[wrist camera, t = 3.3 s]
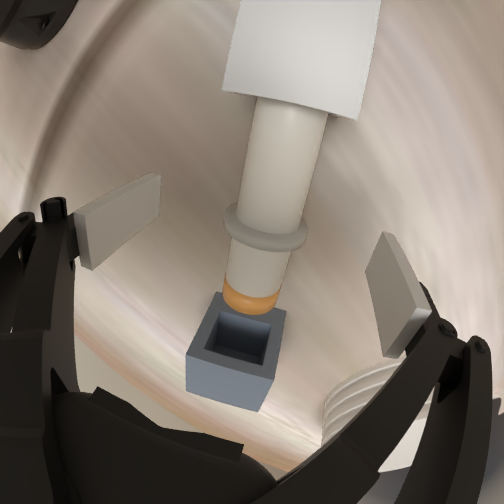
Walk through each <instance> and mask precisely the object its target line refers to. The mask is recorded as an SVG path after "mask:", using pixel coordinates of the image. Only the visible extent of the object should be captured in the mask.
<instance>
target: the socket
mask: <svg viewBox="0 0 504 504" xmlns="http://www.w3.org/2000/svg"><path fill="white" fill-rule="evenodd" d="M285 316H286V311H284V310H280V309H276V308H273V309H272V310H271V311H269V312H267V313H264V314H260V315H248V314H244V313H241V312H238V311H236V310H234V309H233V308H231V307H230V306H229V305H228V304H227V303H226V302H225V300H224V298H223V294H222V293H219V292H216V294H215V296H214V298H213V300H212V302H211V304H210V306H209V308H208V310H207V312H206V314H205V316H204V318H203V320H202V322H201V324H200V326H199V328H198V331H197V333H196V335H195V337H194V339H193V341H192V343H191V345H190V347H189V349H188V351H187V353H186V391H188V392H190V393H193V394H196V395H199V396H202V397H205V398H209V399H212V400H215V401H218V402H222V403H225V404H229V405H232V406H236V407H240V408H243V409H247V410H251V411H255V412H258V411H259V409H260V407H261V405H262V403H263V401H264V399H265V397H266V395H267V393H268V391H269V389H270V387H271V385H272V383H273V381H274V378H275V373H276V367H277V362H278V357H279V351H280V345H281V340H282V334H283V328H284V322H285Z"/></svg>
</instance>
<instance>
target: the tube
mask: <svg viewBox="0 0 504 504" xmlns="http://www.w3.org/2000/svg"><path fill="white" fill-rule="evenodd" d="M328 113H329V112H326V111H322V110H319V109H315V108H311V107H307V106H303V105H299V104H294V103H290V102H285V101H280V100H276V99H270V98H265V97H259V96H257V101H256V106H255V111H254V117H253V122H252V127H251V132H250V137H249V143H248V148H247V153H246V159H245V164H244V170H243V175H242V181H241V186H240V192H239V198H238V203H235V204H232V205H230V206H229V207H228V208H227V209H226V212H225V219H224V228H225V230H226V232H227V233H228V234H229V235H230V236H231V237H232V239H231V245H230V251H229V257H228V264H227V270H226V273H225V279H224V286H223V292H222V294H223V298H224V300H225V302H226V303H227V304H228V305H229V306H230V307H231V308H233V309H234V310H236V311H238V312H241V313H244V314H248V315H260V314H264V313H267V312H269V311H271V310H272V309H273V308H274V306H275V304H276V301H277V298H278V295H279V292H280V288H281V283H282V280H283V277H284V274H285V270H286V267H287V264H288V261H289V257H290V254H291V251H293V250H296V249H299V248H300V247H302V245H303V244H304V242H305V239H306V236H307V233H308V225H307V223H306V222H305V221H304V219H302V218H301V216H302V213H303V209H304V206H305V202H306V198H307V195H308V191H309V187H310V184H311V180H312V176H313V172H314V169H315V165H316V161H317V157H318V153H319V149H320V145H321V141H322V137H323V133H324V129H325V125H326V121H327V117H328Z"/></svg>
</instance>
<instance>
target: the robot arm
mask: <svg viewBox="0 0 504 504" xmlns="http://www.w3.org/2000/svg"><path fill="white" fill-rule="evenodd" d="M76 1H77V0H0V42H3V43H6V44H9V45H12V46H14V47H17V48H20V49H37V48H39V47H41V46H43V45H45V44H46V43H47V42H48V41H49V40H50V39H51V38H52V37H53V36H54V35H55V34H56V33H57V32H58V31H59V29H60V28H61V27H62V25H63V24H64V22H65V21H66V19H67V18H68V16H69V15H70V13H71V11H72V9H73V7H74V6H75V3H76ZM160 189H161V174H158V173H152V172H150V173H148V174H146V175H144V176H142V177H140V178H137V179H135V180H133V181H131V182H129V183H127V184H125V185H123V186H121V187H119V188H117V189H115V190H113V191H111V192H109V193H107V194H105V195H103V196H101V197H100V198H98V199H96V200H94V201H92V202H90V203H89V204H87V205H85V206H83V207H81V208H80V209H78V210H76V211H74V212H73V213H72V214H70V215H68V216H67V207H66V199H65V198H63V197H53V198H49V199H47V200H45V201H43V202H42V203H41V204H40V207H41V214H42V220H43V221H42V222H36V221H35V215H34V213H32V212H23V213H20V214H19V215H17V216H16V217H14V218H13V219H12V220H11V221H10V222H9V224H8V225H7V226H6V227H5V228H4V229H3V230H2V231H1V232H0V504H357V503H358V501H359V500H360V499H361V498H362V497H363V496H364V495H365V494H366V493H367V492H368V491H369V490H370V488H371V487H372V486H373V485H374V484H375V482H376V481H377V480H378V478H379V476H380V473H379V472H378V470H379V468H380V467H381V465H382V464H383V463H384V462H385V461H386V459H387V458H388V457H389V455H390V454H391V453H392V452H393V450H394V449H395V448H396V446H397V445H398V443H399V442H400V441H401V439H402V438H403V437H404V435H405V434H406V432H407V431H408V429H409V428H410V426H411V425H412V423H413V422H414V420H415V419H416V417H417V415H418V414H419V412H420V411H421V409H422V407H423V406H424V404H425V402H426V401H427V399H428V397H429V395H430V394H431V392H432V390H433V388H434V392H433V396H432V401H431V405H430V409H429V413H428V416H427V420H426V423H425V427H424V430H423V433H422V437H421V440H420V443H419V446H418V449H417V451H416V454H415V457H414V460H413V462H412V465H411V467H410V470H409V472H408V475H407V477H406V479H405V482H404V484H403V486H402V489H401V491H400V493H399V495H398V497H397V499H396V501H395V503H394V504H477V501H478V497H479V494H480V489H481V486H482V482H483V477H484V472H485V467H486V461H487V456H488V449H489V440H490V431H491V419H492V363H491V352H490V348H489V346H488V344H487V342H485V340H484V339H482V338H480V337H478V336H472V337H471V338H470V339H469V341H468V342H467V343H466V342H464V341H462V340H460V339H458V338H457V335H458V334H457V331H456V329H455V328H454V326H453V325H452V324H451V323H450V322H448V321H447V320H445V319H443V318H440V316H439V314H438V311H437V309H436V307H435V305H434V303H433V300H432V298H430V297H431V296H430V294H429V292H428V290H427V289H426V287H425V286H424V285H423V284H422V283H421V282H419V281H418V279H417V277H416V275H415V273H414V271H413V269H412V267H411V265H410V263H409V261H408V259H407V258H406V256H405V254H404V252H403V250H402V248H401V246H400V245H399V243H398V241H397V239H396V237H395V236H394V235H393V234H390V233H387V232H384V231H382V233H381V236H380V238H379V241H378V243H377V245H376V248H375V250H374V252H373V255H372V257H371V259H370V262H369V264H368V266H367V268H366V270H365V273H366V277H367V281H368V285H369V289H370V294H371V298H372V302H373V307H374V312H375V316H376V321H377V327H378V332H379V337H380V343H381V349H382V355H383V357H389V358H395V359H398V358H399V356H400V355H401V354H402V353H403V351H404V350H405V351H406V356H407V357H406V358H405V359H404V361H403V362H402V363H401V364H400V365H399V367H398V368H397V369H396V370H395V371H394V372H393V374H392V375H391V377H390V378H389V379H388V380H387V381H386V383H385V384H384V385H383V386H382V387H381V388H380V390H379V391H378V392H377V393H376V394H375V395H374V396H373V397H372V399H371V400H370V401H369V402H368V403H367V404H366V405H365V406H364V407H363V408H362V409H361V410H360V411H359V412H358V413H357V414H356V415H355V416H354V417H353V418H352V419H351V420H350V421H349V422H348V423H347V424H346V425H345V426H344V427H343V428H342V429H341V430H340V431H339V432H338V433H337V434H335V435H334V436H333V437H332V438H331V439H330V440H329V441H328V442H327V443H325V444H324V445H323V446H322V447H321V448H320V449H318V450H317V451H316V452H315V453H314V454H312V455H311V456H310V457H309V458H307V459H306V460H305V461H304V462H302V463H301V464H300V465H298V466H297V467H296V468H294V469H293V470H291V471H290V472H289V473H287V474H286V475H284V476H283V477H281V478H280V479H279V480H277V481H276V480H275V479H274V477H273V476H272V475H271V473H269V472H268V470H267V469H266V468H265V467H263V466H262V465H261V464H260V463H258V462H257V461H256V460H254V459H253V458H251V457H249V456H248V455H246V454H244V453H242V450H243V446H244V444H240V443H236V442H232V441H229V440H225V439H222V438H218V437H215V436H212V435H208V434H205V433H198V432H188V431H181V430H174V429H168V428H163V427H160V426H158V425H157V424H155V423H154V422H153V421H151V420H150V419H149V418H147V417H146V416H145V415H143V414H142V413H141V412H139V411H138V410H137V409H136V408H135V407H133V406H132V405H131V404H130V403H128V402H126V401H124V400H122V399H120V398H118V397H117V396H115V395H112V394H111V393H109V392H107V391H105V390H103V389H101V388H100V387H97V388H96V390H95V391H94V392H93V394H92V393H86V392H80V390H79V386H78V382H77V374H76V364H75V349H74V281H75V261H74V259H75V258H76V257H77V256H80V262H81V266H83V267H85V268H87V269H90V270H92V271H93V270H94V269H95V268H96V267H97V266H98V265H100V264H101V263H102V262H103V261H104V260H105V259H107V258H108V257H109V256H110V255H111V254H112V253H114V252H115V251H116V250H117V249H118V248H120V247H121V246H122V245H123V244H124V243H126V242H127V241H128V240H129V239H130V238H132V237H133V236H134V235H135V234H137V233H138V232H139V231H140V230H142V229H143V228H144V227H146V226H147V225H148V224H149V223H151V222H152V221H153V220H155V219H156V218H157V217H158V216H159V210H160ZM18 252H19V253H20V257H21V258H20V259H19V254H18ZM12 327H13V328H12ZM11 329H12V333H10V331H11ZM434 386H435V387H434Z"/></svg>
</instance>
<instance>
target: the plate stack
mask: <svg viewBox="0 0 504 504" xmlns="http://www.w3.org/2000/svg"><path fill="white" fill-rule="evenodd" d="M406 357H407V356H404V357H399V358H398V359H392V360H388V361H385V362H382V363H379V364H376V365H374V366H371V367H369V368H366V369H364V370H362V371H360V372H358V373H356V374H354V375H352V376H350V377H349V378H347V379H345V380H344V381H343V382H341V383H340V384H339V385H337V386H336V387H335V388H334V389H333V390H332V391H331V392H330V394H329V395H328V396H327V398H326V401H325V404H324V418H323V431H322V436H323V438H322V443H321V447H322V446H323V445H324V444H325V443H327V442H328V441H329V440H330V439H331V438H332V437H333V436H334V435H335V434H337V433H338V432H339V431H340V430H341V429H342V428H343V427H344V426H345V425H346V424H347V423H348V422H349V421H350V420H351V419H352V418H353V417H354V416H355V415H356V414H357V413H358V412H359V411H360V410H361V409H362V408H363V407H364V406H365V405H366V404H367V403H368V402H369V401H370V400H371V399H372V397H373V396H374V395H375V394H376V393H377V392H378V391H379V390H380V388H381V387H382V386H383V385H384V384H385V383H386V381H387V380H388V379H389V378H390V377H391V375H392V374H393V372H394V371H395V370H396V369H397V368H398V367H399V365H400V364H401V363H402V362H403V361H404V359H405V358H406ZM434 387H435V386H434ZM433 392H434V388H433V390H432V392H431V394H430V395H429V397H428V399H427V401H426V402H425V404H424V406H423V407H422V409H421V411H420V412H419V414H418V415H417V417H416V419H415V420H414V422H413V423H412V425H411V426H410V428H409V429H408V431H407V432H406V434H405V435H404V437H403V438H402V439H401V441H400V442H399V443H398V445H397V446H396V448H395V449H394V450H393V452H392V453H391V454H390V455H389V457H388V458H387V459H386V461H385V462H384V463H383V464H382V465H381V467H380V468H379V470H378V472H384V471H390V470H396V469H400V468H405V467H408V466H411V465H412V462H413V460H414V457H415V454H416V451H417V449H418V446H419V443H420V440H421V437H422V433H423V430H424V427H425V423H426V420H427V416H428V413H429V409H430V405H431V401H432V396H433Z"/></svg>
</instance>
